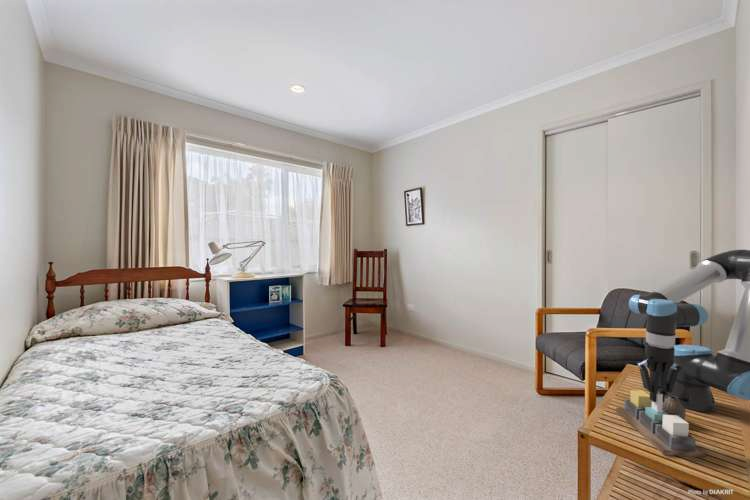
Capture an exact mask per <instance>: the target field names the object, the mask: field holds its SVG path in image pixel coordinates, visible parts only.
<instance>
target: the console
mask: <svg viewBox="0 0 750 500" xmlns="http://www.w3.org/2000/svg"><path fill="white" fill-rule="evenodd" d="M651 407H652V404H651ZM615 412H616V413H617V414H619V416H621V417H622V418H623V420H625V421H626V422H627V423H628V424H629V425H630V426H631V427H633V428H634V430H636V431H637V432H638V433H639V434H640V435H641V436H643V438H645V439H646V440H647V441H648V442H649V443H650V445H652V446H653V447H654V446H655V447H656V448H657V449H656V448H655V447H654V448H655V449H656V450H658V451H659V452H660V454H662V455H663V456H675V455H676V456H677V457H694V458H706V457H707V452H706V451H704V450H703V449H702V448H700V447H699V446H698V445H697V444H696V441H697V440H696V438H695V437H694V436H693V435H691V434H690V433H689V432H688V437H681V436H672V435H671V434H669V433H668V432H667V431H666V430H664V429H663V428H662V422H663V421H653V420H652V419H651V418H650V417H649V416H647V415H646V414H645V408H638V407H636V406H635V405H634V404H633V403H631V402H630V398H625V399H624V407H615Z"/></svg>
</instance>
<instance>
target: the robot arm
mask: <svg viewBox="0 0 750 500" xmlns="http://www.w3.org/2000/svg"><path fill="white" fill-rule="evenodd" d="M725 280H726V281H727V280H741V281H740V284H741V285H742V286H743V287H744V292H743V294H742V297H741V300H740V303H739V306H738V309H737V312H736V316H735V318H734V321H733V324H732V327H731V328H730V329H731V330H730V332H729V334H728V335H729V336H728V338H727V341H726V344H725V348H724V349H722V350H718V351H716V355H714V352H713V350H712V349H711V348H709V347H705V346H702V345H694V344H676V329H677V328H681V327H682V328H683V327H684V328H685V327H697V326H702V325H705V324H706V323H707V322H708V319H709V313H708V311H707V310H706V308H705V307H703V306H702V305H700V304H696V303H682V301H683V300H686V299H687V298H690V297H691V296H693V295H695V294H696V293H698V292H700V291H701V290H704V289H705V288H706V287H707V288H708V287H709V286H711V285H712V284H715V283H716V284H718V283H721V282H724V281H725ZM628 307H629V310H630V311H631V312H633V313H635V314H638V315H640V316H644V317H646V327H645V328H646V330H645V344H644V345H645V346H644V347H645V351H644V352H645V356H644V359H643V361H640V362H639V361H638V362H636V365H637V367H638V369H639V372H640V377H641V381H642V386H643V388H644V389H645V390H647V391H648V392H649V395H650V400H651V401H652V404H651V405H652V407H651V408H652V409H653V410H655V411H656V412H658V413H662V402H664V401H665V399H667V398H668V397H669V396H675V397H677V398H678V400H679V401H680V403H681V404H682V405H683V406H684V408H685V409H688V410H691V411H695V412H702V413H703V412H704V413H711V412H714V411H715V410H716V408H717V407H716V406H717V404H716V401H715V398H714V395H713V393H712V390H711V387H712V388H714V389H716V390H719V391H720V392H721V391H722V392H724V393H726V394H728V395H730V396H732V397H736V398H739V399H742V400H744V401H750V249H732V250H727V251H725V252H720V253H718V254H715V255H711V256H710V257H707V258H705V259H703V260H702V261H700V262H698V263H697V264H696V267H695V268H693V269H692V270H689V271H687V272H686V273H683V274H682V275H680V276H678V277H677V278H674V279H673V280H671V281H670V282H666V284H664V285H662V286H660V287H658V288H657V289H655V290H653V291H652V292H650V293H648V294H646V295H644V294H634V295H632V296H631V297H630V298H629V300H628Z"/></svg>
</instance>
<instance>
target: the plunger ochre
mask: <svg viewBox="0 0 750 500" xmlns="http://www.w3.org/2000/svg"><path fill="white" fill-rule="evenodd" d="M629 399H630V402H631V403H633V404H634V405H635V406H636V407H638V408H645V407H651V405H652V401H651V400H650V393H649V394H648V393H647V392H646V391H644V390H640V389H639V390H635V389H634V390H633V389H631V390H630V397H629Z"/></svg>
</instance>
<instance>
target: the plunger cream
mask: <svg viewBox="0 0 750 500" xmlns="http://www.w3.org/2000/svg"><path fill="white" fill-rule="evenodd" d="M689 427H690V423H689V422H688V421H686V420H685V419H684V420H683V419H682V418H680V417H679V416H678V415H663V422H662V428H663V429H664V430H666V431H667V432H668V433H669V434H671V435H672V436H681V437H688V433H689V430H690V429H689Z"/></svg>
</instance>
